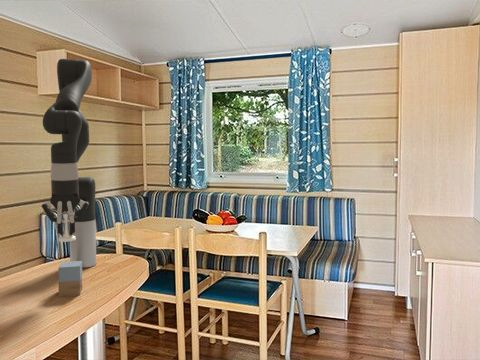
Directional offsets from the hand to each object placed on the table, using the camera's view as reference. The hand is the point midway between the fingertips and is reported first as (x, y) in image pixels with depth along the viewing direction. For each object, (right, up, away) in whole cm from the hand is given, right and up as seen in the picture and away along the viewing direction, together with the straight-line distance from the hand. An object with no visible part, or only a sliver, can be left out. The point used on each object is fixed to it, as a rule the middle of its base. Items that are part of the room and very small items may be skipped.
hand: (66, 234), depth 127 cm
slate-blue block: (0, -14, +2) cm, 14 cm away
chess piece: (0, -2, 0) cm, 2 cm away
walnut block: (0, -18, +2) cm, 18 cm away
